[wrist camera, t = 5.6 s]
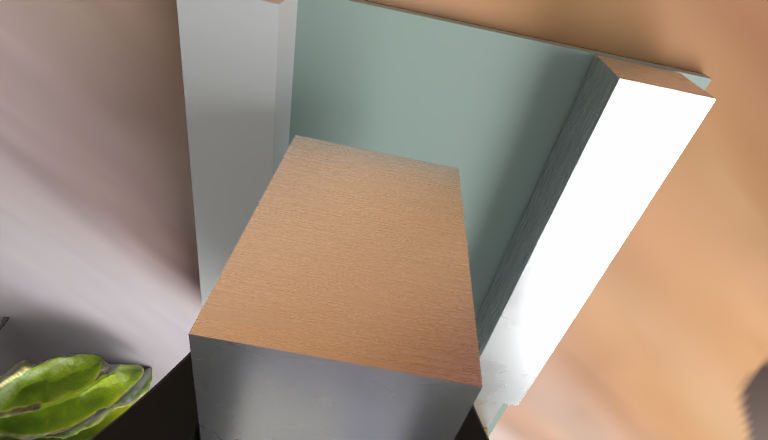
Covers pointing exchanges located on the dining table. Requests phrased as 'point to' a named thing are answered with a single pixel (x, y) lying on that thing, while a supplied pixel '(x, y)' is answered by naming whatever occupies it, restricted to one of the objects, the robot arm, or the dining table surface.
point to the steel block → (342, 306)
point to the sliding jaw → (580, 216)
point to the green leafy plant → (67, 396)
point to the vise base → (370, 108)
